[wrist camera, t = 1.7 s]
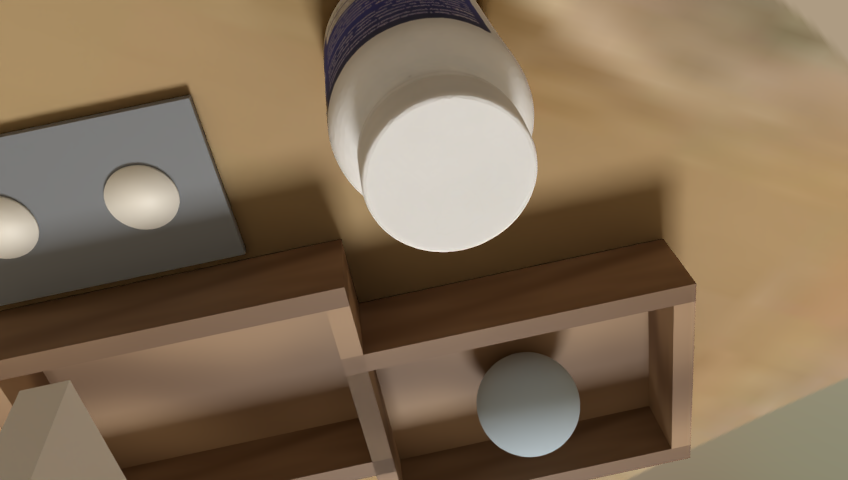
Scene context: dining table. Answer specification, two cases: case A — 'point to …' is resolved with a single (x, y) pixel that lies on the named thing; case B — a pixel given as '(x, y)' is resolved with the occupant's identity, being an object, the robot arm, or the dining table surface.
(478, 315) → the cradle
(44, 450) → the robot arm
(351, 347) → the cradle
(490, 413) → the ball
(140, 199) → the card
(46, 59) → the dining table surface
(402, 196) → the pill bottle
